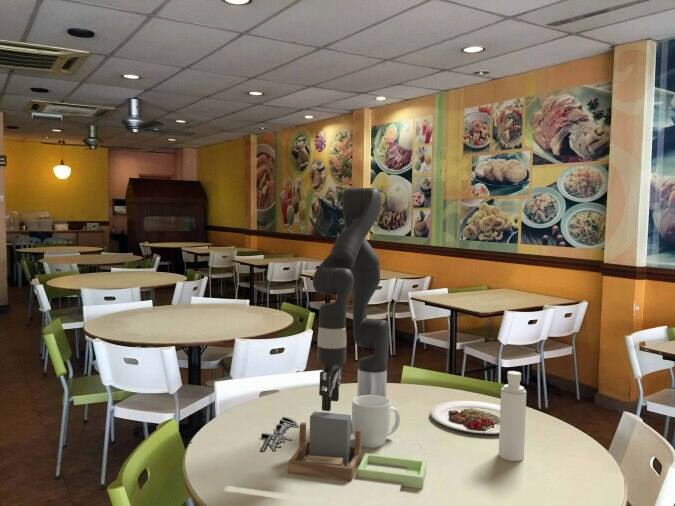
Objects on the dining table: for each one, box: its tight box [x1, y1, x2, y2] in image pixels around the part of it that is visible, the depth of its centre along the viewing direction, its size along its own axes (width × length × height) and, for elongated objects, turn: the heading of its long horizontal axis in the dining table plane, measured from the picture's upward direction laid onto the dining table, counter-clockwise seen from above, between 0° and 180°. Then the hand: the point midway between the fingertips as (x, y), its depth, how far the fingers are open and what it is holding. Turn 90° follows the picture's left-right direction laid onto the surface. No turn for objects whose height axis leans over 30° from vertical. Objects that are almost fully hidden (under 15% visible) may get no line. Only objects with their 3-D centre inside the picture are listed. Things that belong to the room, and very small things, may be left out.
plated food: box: [430, 400, 500, 435], centre depth 182 cm, size 30×30×3 cm
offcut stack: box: [305, 455, 344, 466], centre depth 140 cm, size 4×10×3 cm, turn 76°
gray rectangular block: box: [309, 410, 352, 466], centre depth 146 cm, size 4×10×12 cm, turn 76°
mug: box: [351, 395, 401, 449], centre depth 160 cm, size 15×11×13 cm
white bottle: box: [498, 370, 527, 462], centre depth 153 cm, size 7×7×25 cm
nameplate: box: [259, 416, 300, 453], centre depth 165 cm, size 27×2×10 cm
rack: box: [288, 422, 364, 482], centre depth 144 cm, size 14×16×10 cm
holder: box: [357, 452, 427, 490], centre depth 141 cm, size 10×16×3 cm, turn 76°
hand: (330, 405), depth 146 cm, fingers open, 8 cm apart
